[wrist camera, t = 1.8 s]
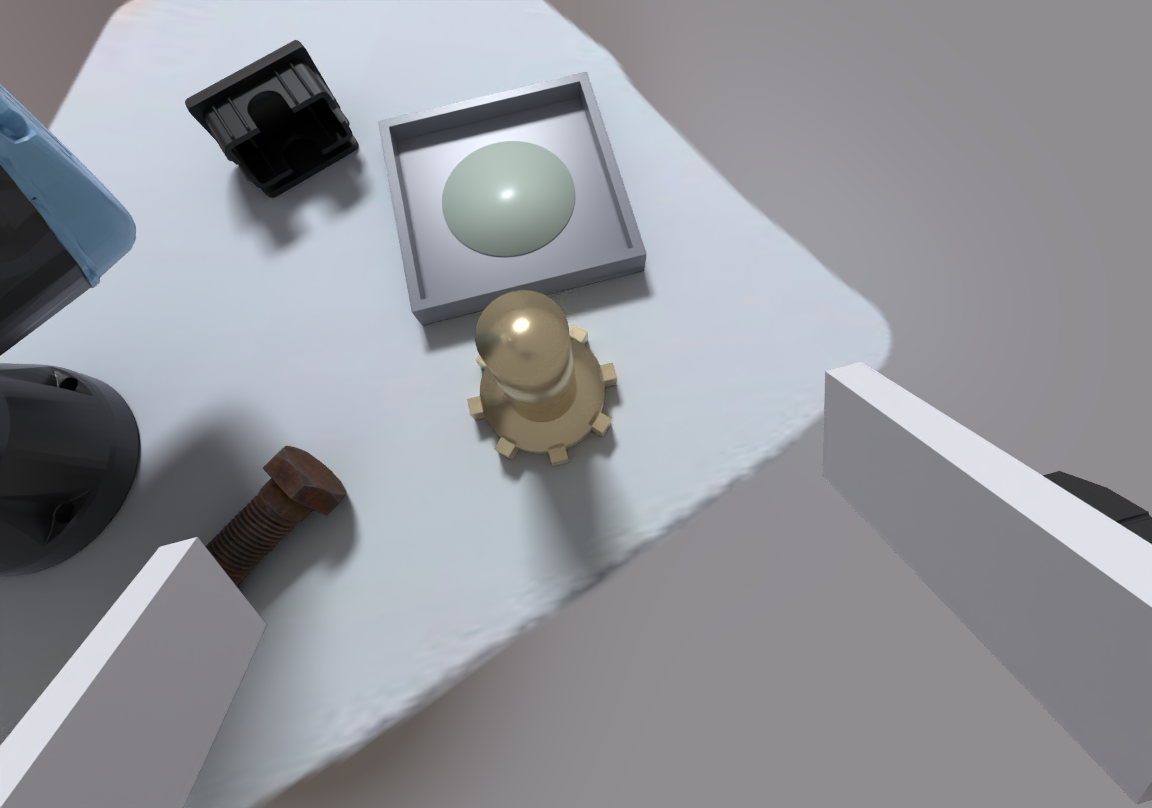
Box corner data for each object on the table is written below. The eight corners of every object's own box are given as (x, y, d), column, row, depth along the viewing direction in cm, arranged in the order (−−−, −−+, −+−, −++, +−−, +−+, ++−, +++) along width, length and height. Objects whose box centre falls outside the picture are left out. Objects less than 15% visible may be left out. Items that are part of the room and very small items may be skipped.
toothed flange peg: (488, 483, 37) (439, 455, 26) (460, 347, 40) (406, 269, 29) (633, 445, 37) (648, 402, 26) (595, 313, 40) (594, 223, 29)
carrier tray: (422, 325, 40) (411, 311, 38) (389, 143, 45) (377, 121, 43) (643, 270, 41) (646, 253, 39) (587, 95, 46) (586, 71, 43)
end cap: (329, 94, 47) (286, 21, 41) (366, 145, 45) (327, 78, 39) (231, 149, 46) (171, 83, 39) (265, 203, 44) (208, 144, 38)
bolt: (185, 624, 37) (337, 469, 39) (193, 680, 34) (359, 506, 36) (95, 605, 33) (271, 432, 35) (94, 666, 29) (289, 470, 32)
